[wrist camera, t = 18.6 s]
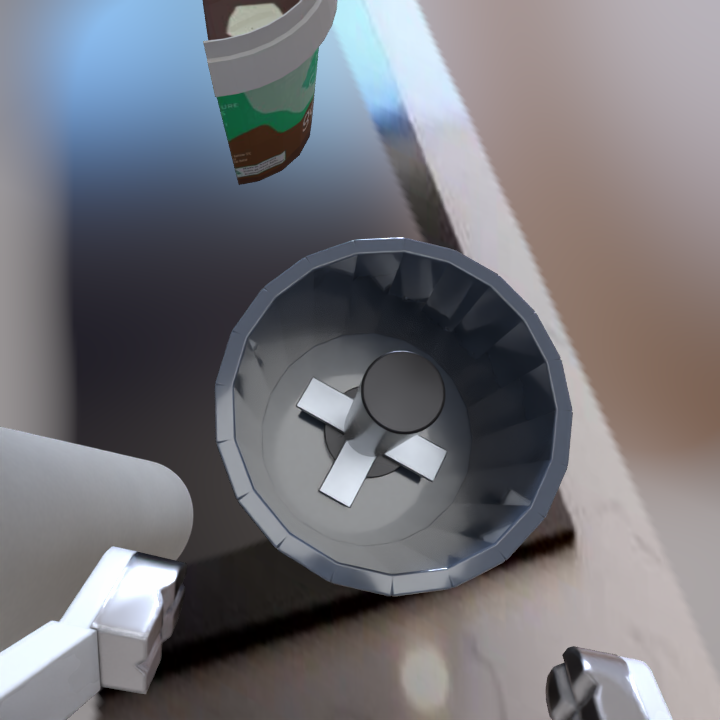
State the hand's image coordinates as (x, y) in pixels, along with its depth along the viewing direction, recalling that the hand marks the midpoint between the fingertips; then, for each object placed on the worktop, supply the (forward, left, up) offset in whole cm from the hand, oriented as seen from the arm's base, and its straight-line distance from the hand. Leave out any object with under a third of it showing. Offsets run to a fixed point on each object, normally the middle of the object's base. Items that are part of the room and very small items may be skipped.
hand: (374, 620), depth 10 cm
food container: (-21, +14, -14) cm, 29 cm away
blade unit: (-3, +5, -13) cm, 14 cm away
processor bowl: (-3, +5, -14) cm, 15 cm away
